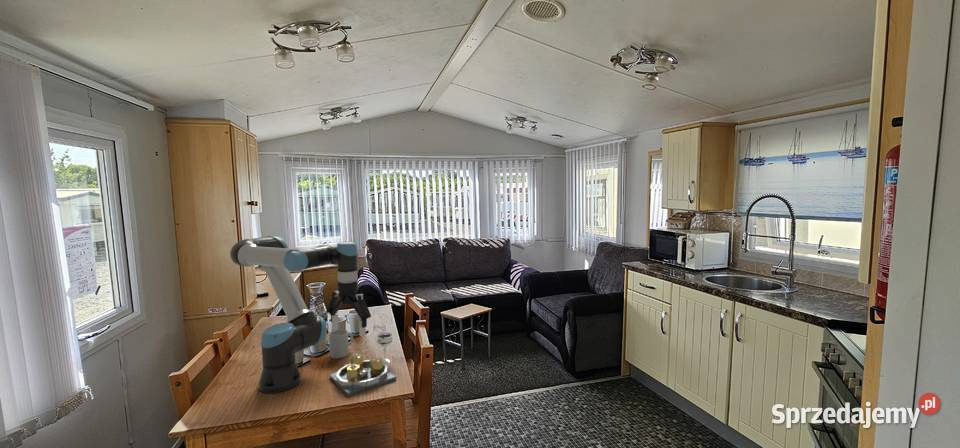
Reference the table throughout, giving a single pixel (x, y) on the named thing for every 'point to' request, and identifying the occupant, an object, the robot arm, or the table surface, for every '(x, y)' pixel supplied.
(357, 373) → the yellow hollow cylinder
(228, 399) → the table surface
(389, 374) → the carrier
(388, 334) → the wineglass
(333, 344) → the mug
